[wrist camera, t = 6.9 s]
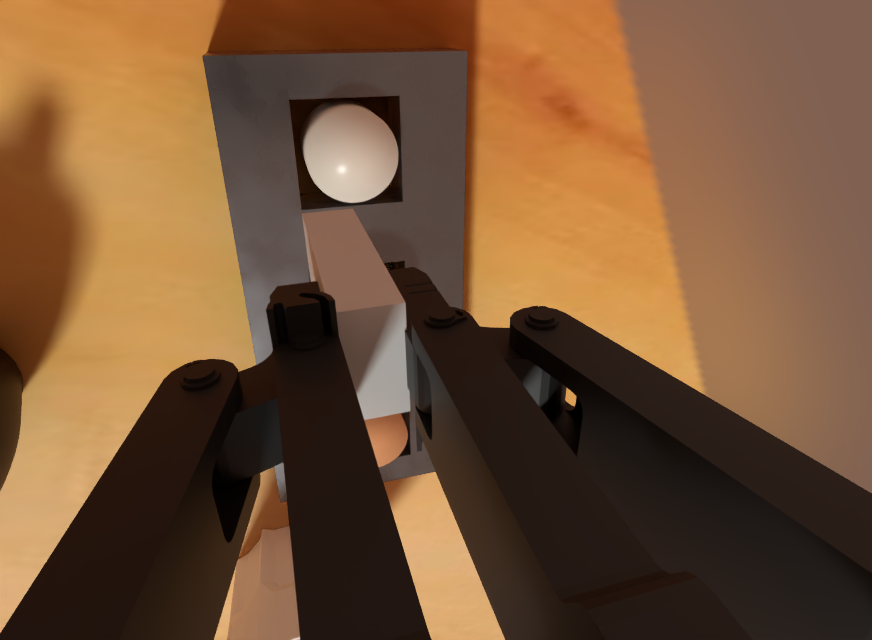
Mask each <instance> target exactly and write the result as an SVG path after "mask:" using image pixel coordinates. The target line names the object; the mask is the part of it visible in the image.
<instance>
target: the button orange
mask: <svg viewBox="0 0 872 640" xmlns="http://www.w3.org/2000/svg"><path fill="white" fill-rule="evenodd" d="M364 421H365V424H366V427H367V431H368V434H369V437H370V441H371V444H372V447H373V450H374V454H375V457H376V460H377V464H378V467H381V466H384V465H386V464H388V463H390V462H392V461H393V460H394V459H396V458H397V457H398V456H399V455H400V454H401V452H402V451H403V450H404V448H405V446H406V443H407V439H408V432H407V428H406V425H405V422H404V420H403V417H402V414H401V413H398V414H393V415H388V416H383V417H378V418H372V419H367V420H364Z"/></svg>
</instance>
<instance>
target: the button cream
mask: <svg viewBox="0 0 872 640" xmlns="http://www.w3.org/2000/svg"><path fill="white" fill-rule="evenodd" d="M300 143H301V151H302V154H303V157H304V160H305V163H306V165H307V168H308V171H309V173H310V176H311V178H312V179H313V181H314V183H315V184H316V185H317V186H318V188H319V189H320V190H321V191H323V192H324V193H325V194H326V195H328V196H330V197H331V198H333V199H336V200H339V201H342V202H349V203H357V202H363V201H366V200H369V199H372V198H374V197H375V196H377V195H379V194H380V193H381V192H382V191H383V190H384V189H385V188H386V187H387V186H388V185H389V184H390V182H391V181H392V179H393V177H394V175H395V172H396V169H397V165H398V147H397V143H396V140H395V137H394V135H393V133H392V131H391V130H390V128H389V127H388V125H387V124H386V123H385V122H384V121H383V120H382V119H380V118H379V117H378V116H377V115H375V114H374V113H373V112H372V111H370V110H369V109H368V108H367V107H365V106H364V105H362V104H360V103H358V102H356V101H353V100H348V99H334V100H330V101H327V102H324V103H322V104H321V105H319V106H318V107H316V108H315V109H314V110H313V111H312V112H311V113H310V114H309V116H308V117H307V119H306V120H305V122H304V125H303V127H302V131H301V138H300Z"/></svg>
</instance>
